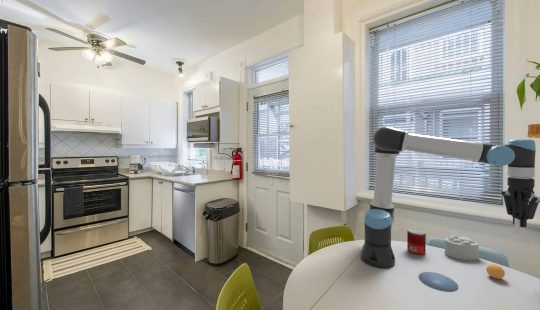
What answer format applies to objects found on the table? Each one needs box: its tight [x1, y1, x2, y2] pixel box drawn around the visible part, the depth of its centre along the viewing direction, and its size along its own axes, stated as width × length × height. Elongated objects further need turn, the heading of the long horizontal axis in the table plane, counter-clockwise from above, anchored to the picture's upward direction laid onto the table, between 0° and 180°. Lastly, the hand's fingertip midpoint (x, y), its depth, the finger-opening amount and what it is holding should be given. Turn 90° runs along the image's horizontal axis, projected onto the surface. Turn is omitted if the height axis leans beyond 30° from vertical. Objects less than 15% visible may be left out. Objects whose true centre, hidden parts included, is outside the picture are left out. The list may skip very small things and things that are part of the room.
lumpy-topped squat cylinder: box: [444, 234, 479, 261], centre depth 115 cm, size 10×13×9 cm
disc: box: [418, 271, 459, 292], centre depth 94 cm, size 13×13×1 cm
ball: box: [485, 263, 506, 280], centre depth 95 cm, size 6×6×6 cm
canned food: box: [406, 227, 427, 256], centre depth 119 cm, size 8×8×11 cm
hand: (519, 234), depth 95 cm, fingers closed
